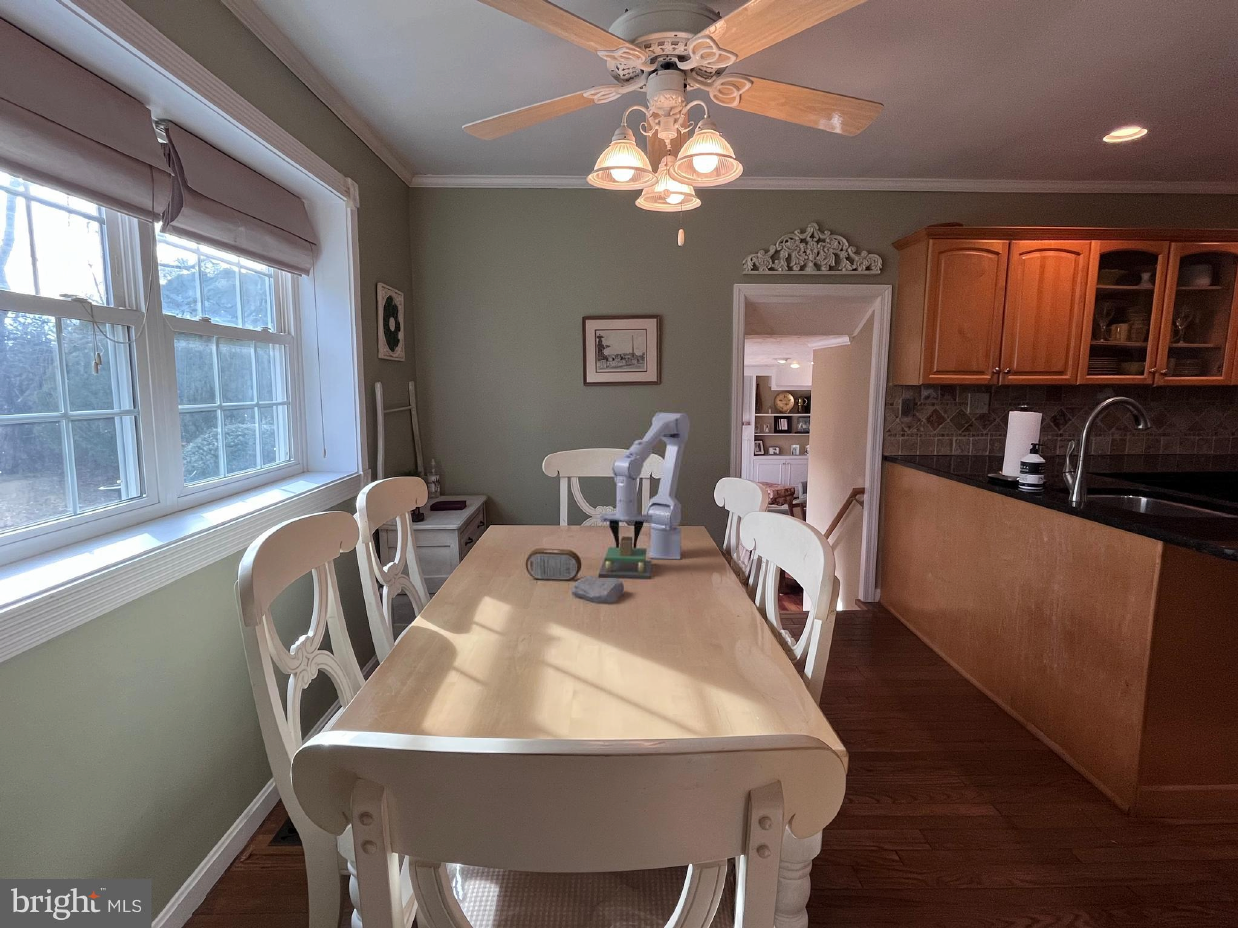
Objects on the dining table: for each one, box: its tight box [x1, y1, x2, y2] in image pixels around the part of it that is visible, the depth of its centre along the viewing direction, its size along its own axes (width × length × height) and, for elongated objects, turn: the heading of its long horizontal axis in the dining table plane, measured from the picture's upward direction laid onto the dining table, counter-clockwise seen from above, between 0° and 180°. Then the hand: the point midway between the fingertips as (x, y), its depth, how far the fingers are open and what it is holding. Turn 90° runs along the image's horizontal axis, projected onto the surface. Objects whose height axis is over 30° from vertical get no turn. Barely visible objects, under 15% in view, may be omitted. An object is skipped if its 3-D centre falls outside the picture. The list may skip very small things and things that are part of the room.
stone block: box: [571, 575, 625, 605], centre depth 153 cm, size 12×5×10 cm
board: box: [604, 535, 647, 563], centre depth 173 cm, size 11×11×5 cm
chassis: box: [598, 558, 653, 580], centre depth 174 cm, size 14×14×4 cm
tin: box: [525, 547, 582, 582], centre depth 165 cm, size 15×3×8 cm, turn 84°
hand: (626, 547), depth 173 cm, fingers open, 4 cm apart
